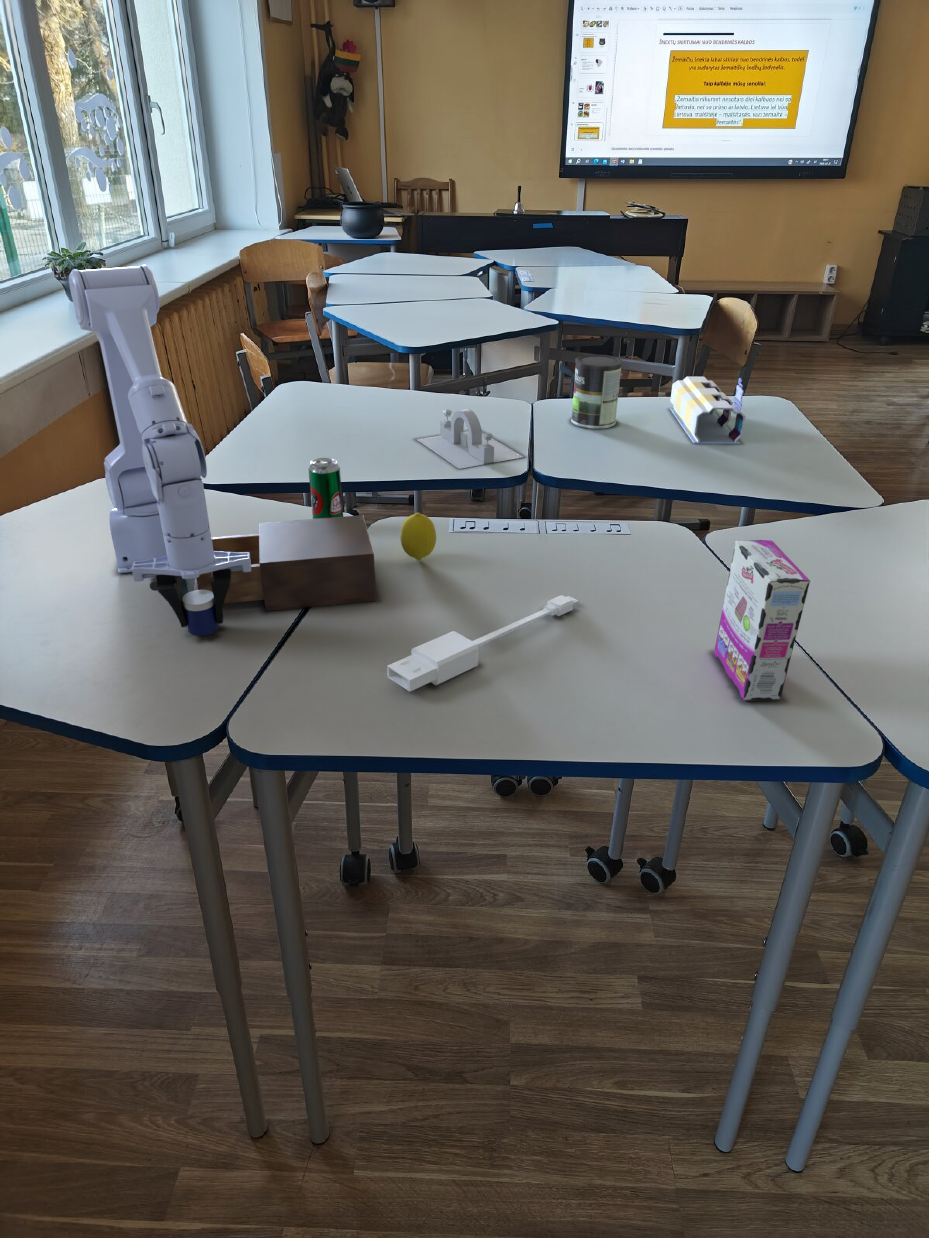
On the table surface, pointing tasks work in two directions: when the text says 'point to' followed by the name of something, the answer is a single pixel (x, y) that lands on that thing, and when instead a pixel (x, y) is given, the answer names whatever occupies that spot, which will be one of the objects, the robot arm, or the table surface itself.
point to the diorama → (706, 411)
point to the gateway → (467, 442)
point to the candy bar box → (760, 619)
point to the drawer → (242, 583)
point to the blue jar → (200, 612)
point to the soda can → (325, 488)
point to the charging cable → (458, 651)
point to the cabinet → (316, 562)
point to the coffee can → (596, 391)
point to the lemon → (418, 536)
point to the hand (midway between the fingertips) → (202, 621)
